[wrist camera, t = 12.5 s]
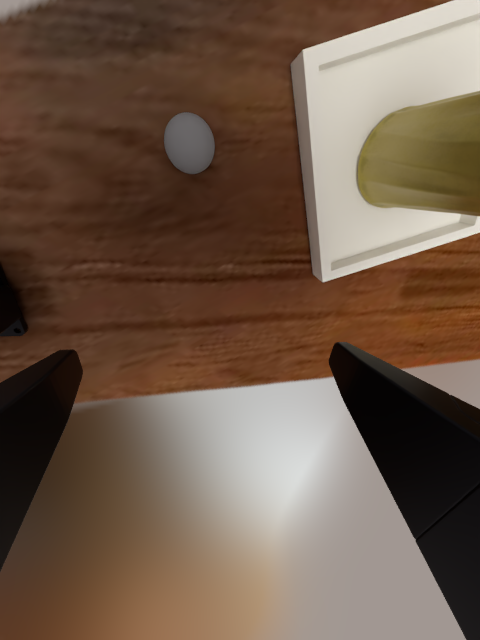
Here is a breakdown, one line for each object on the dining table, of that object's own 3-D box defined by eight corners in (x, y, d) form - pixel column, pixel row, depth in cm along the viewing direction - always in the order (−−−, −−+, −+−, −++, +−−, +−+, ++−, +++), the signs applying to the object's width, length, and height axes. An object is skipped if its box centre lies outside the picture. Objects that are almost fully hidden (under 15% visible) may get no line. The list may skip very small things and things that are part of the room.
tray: (312, 274, 22) (322, 282, 20) (290, 64, 14) (302, 49, 13) (459, 227, 22) (481, 231, 20) (513, -9, 14) (555, -33, 13)
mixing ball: (168, 171, 16) (163, 171, 14) (164, 114, 15) (158, 102, 12) (212, 176, 17) (215, 176, 14) (213, 121, 15) (217, 110, 13)
